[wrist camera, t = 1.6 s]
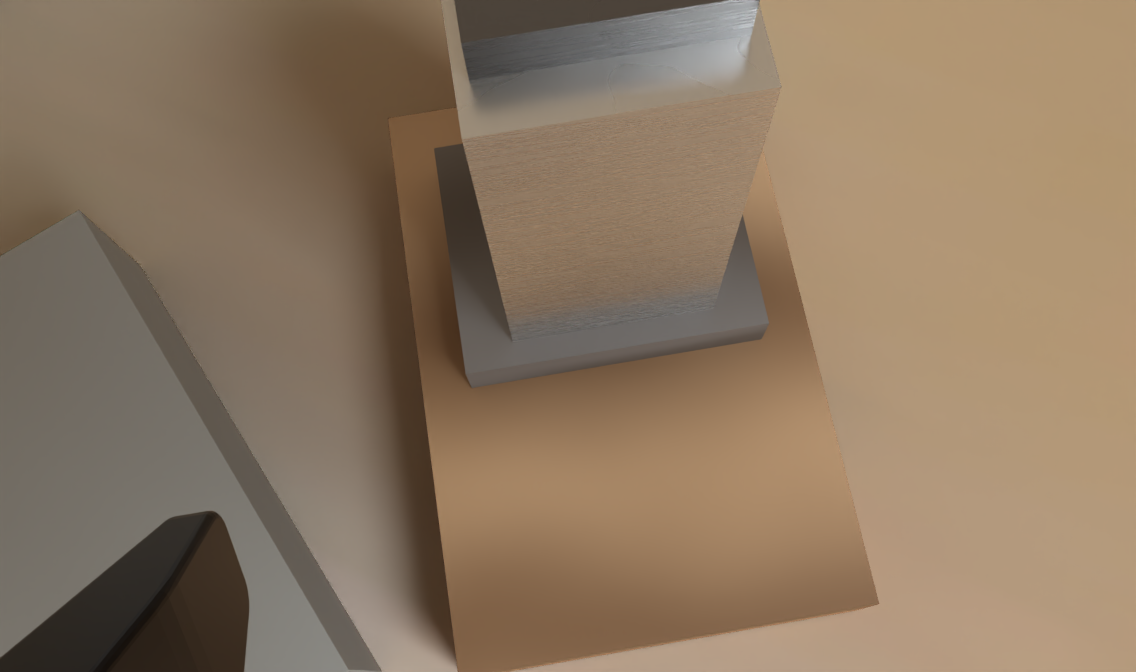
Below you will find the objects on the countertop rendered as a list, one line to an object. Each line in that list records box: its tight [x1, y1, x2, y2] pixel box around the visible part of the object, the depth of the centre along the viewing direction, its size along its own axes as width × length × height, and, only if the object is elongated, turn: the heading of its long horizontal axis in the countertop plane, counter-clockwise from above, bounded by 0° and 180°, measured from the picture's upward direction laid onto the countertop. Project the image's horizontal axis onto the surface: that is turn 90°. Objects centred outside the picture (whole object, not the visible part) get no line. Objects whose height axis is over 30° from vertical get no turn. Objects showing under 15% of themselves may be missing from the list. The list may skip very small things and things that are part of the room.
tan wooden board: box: [388, 107, 879, 672], centre depth 22 cm, size 12×8×3 cm, turn 10°
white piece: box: [441, 0, 781, 342], centre depth 17 cm, size 4×4×9 cm
